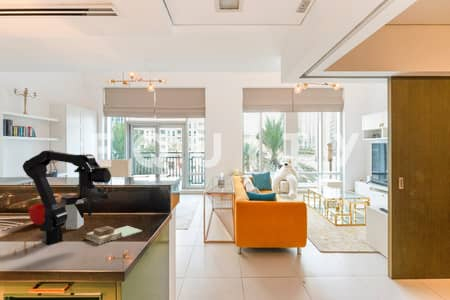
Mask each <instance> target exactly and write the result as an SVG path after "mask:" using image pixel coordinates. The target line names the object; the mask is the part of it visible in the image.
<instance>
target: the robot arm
mask: <svg viewBox="0 0 450 300" xmlns="http://www.w3.org/2000/svg"><path fill="white" fill-rule="evenodd" d="M52 161H56V162H62V163H68V164H72V165H73V166H75V167H76V169H74V171H73V172H74V173H78V184H77V188H78V193H77V195H76V196H73V195H68V196H62V197H61V198H60V204H61V205H63V206H61V205H59V204H58V203H57V202H58V201H57V200H56V197H55V195H54V192H53V190H52V187H51V185H50V183H49V181H48V178H47V172H48V168H47V166H48V165H50V164H51V162H52ZM22 170H23V171H24V173H25V175H26V176H28V177H29V178H30V180H32V181H33V182H34V185H35V188H36V190H37V192H38V195H39V197H40V200H41V202H42V204H43V205H44V207H45V213H44V219H45V221H44V222H43V223H42V224H41V225H40V226H38V227H39V230H40V232H43V237H42V238H43V240H41V243H42V244H44V245H46V246H49V245H54V244H56V243H60V242H63V241H64V239H63V234H64V233H63V229H62V227H64V226H65V224H66V220H67V214H68V213H67V212H66V205H72V204H74V205H75V206H76V208H77V210H78V212H79V214H80V216H81V218H83V219H84V217H85V216H84V215H85V213H84V205H85V202H84V201H87V214H88V215H87V216H88V217H91V216H92V213H93V211H94V208H95V206H96V204H97V203H99V202H100V201H101V200H107V199H109V197H110V194H109V193H108V191H105V189H104V188H103V187H102V188H101V187H99V188H96V185H95V184H96V183H97V184H98V183H99V184H100V183H101V184H108V183H109V182H110V181H111V178H112V174H111V172H110V170H109V167H101V166H100V164H99V163H98V162H97V159H96V156H95V155H93V154H90V153H89V154H86V153H84V154H73V153H66V152H60V151H54V150H50V149H49V150H48V149H47V150H43V151H41V152H40V153H38V154H37V155H34V156H33V157H31V158H29V159H27V160H25V161H24V163H23V164H22ZM94 183H95V184H94ZM100 199H101V200H100ZM82 202H83V203H82Z"/></svg>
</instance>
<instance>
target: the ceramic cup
mask: <svg viewBox="0 0 450 300" xmlns="http://www.w3.org/2000/svg"><path fill="white" fill-rule="evenodd" d="M44 213H45V207H44V205H43V203H41V204H34V205H31V206H29V207H28V214H29V219H30V221H31V222H32V223H33V224H34V225H35V226H38V227H39V226H40V225H41V224H42V223H43V222H44V221H45V219H44Z"/></svg>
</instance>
